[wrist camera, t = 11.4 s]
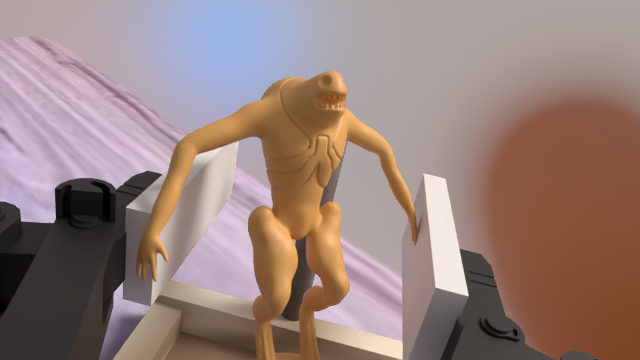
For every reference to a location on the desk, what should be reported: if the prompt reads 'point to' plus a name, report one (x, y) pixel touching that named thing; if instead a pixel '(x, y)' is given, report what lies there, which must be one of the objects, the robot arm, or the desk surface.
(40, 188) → the desk surface
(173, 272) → the robot arm
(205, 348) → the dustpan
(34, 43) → the desk surface
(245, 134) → the figurine
